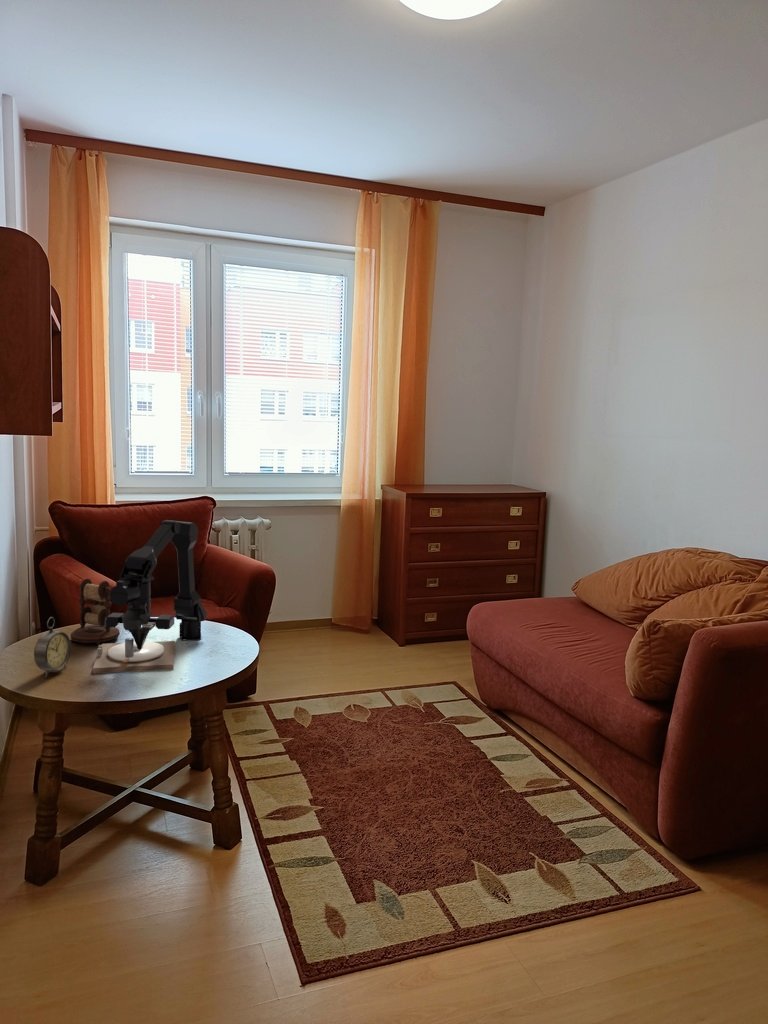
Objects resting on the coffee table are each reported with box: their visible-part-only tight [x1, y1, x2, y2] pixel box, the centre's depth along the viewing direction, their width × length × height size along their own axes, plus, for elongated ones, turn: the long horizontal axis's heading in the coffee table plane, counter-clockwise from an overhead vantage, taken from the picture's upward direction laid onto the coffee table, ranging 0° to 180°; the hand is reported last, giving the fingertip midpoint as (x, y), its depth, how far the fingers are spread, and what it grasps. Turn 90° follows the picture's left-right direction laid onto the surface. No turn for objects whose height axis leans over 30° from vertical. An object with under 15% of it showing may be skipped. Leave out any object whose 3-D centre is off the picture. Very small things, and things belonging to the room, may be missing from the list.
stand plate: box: [92, 640, 176, 674], centre depth 217 cm, size 22×22×4 cm
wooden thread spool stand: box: [70, 578, 120, 647], centre depth 232 cm, size 15×15×20 cm
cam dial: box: [108, 637, 164, 662], centre depth 216 cm, size 18×16×6 cm
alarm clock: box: [33, 616, 72, 679], centre depth 202 cm, size 11×5×16 cm, turn 168°
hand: (140, 649), depth 211 cm, fingers closed
